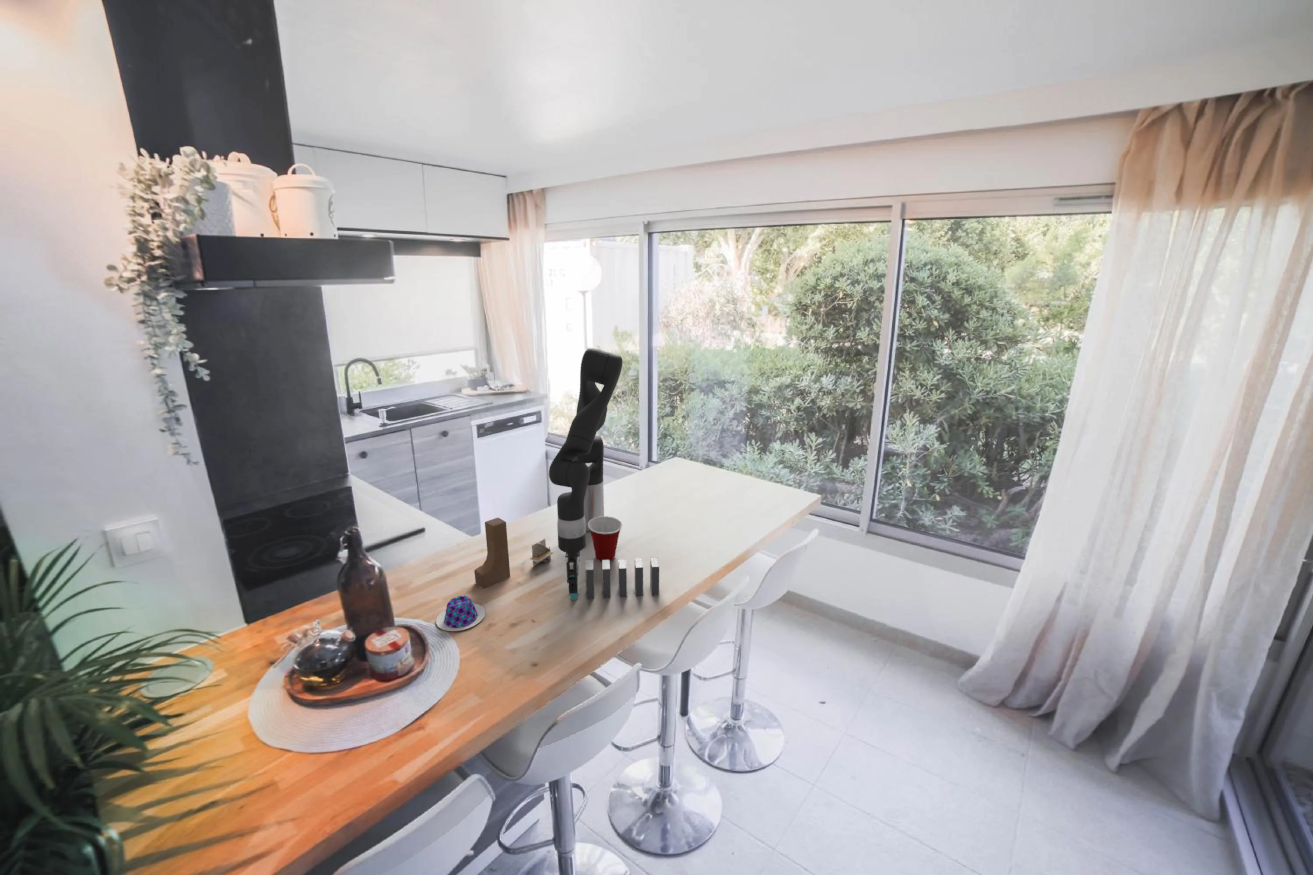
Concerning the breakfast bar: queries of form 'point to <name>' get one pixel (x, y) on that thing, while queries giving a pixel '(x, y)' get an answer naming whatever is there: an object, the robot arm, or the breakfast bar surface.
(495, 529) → the wooden block
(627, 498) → the breakfast bar surface
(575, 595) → the domino
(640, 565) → the domino
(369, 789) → the breakfast bar surface
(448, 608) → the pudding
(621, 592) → the domino
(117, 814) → the breakfast bar surface
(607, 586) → the domino
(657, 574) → the domino
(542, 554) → the architectural model
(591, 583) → the domino
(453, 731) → the breakfast bar surface
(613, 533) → the plastic cup
